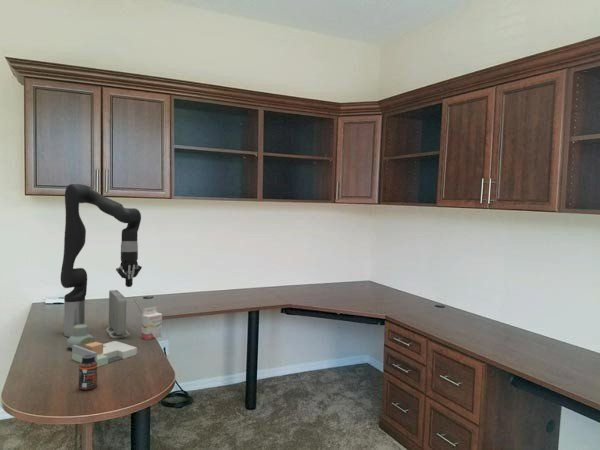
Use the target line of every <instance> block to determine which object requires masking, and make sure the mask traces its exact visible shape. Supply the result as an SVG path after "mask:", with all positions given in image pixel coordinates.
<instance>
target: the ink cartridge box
mask: <svg viewBox="0 0 600 450" xmlns="http://www.w3.org/2000/svg"><path fill="white" fill-rule="evenodd" d="M162 328H163V314H162V313H160V312H158V306H154V307H153V306H152V307H145V308H143V309H142V314H141V339H143V340H146V341H150V340H153V338H154V337H155V338H154V339H158V338H162V336H163V335H162V333H163V332H162V331H163V329H162Z"/></svg>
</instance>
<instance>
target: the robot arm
mask: <svg viewBox="0 0 600 450" xmlns="http://www.w3.org/2000/svg"><path fill="white" fill-rule="evenodd" d="M64 191H65V192H64V205H65V206H64V207H65V222H64V223H65V226H64V240H63V241H64V242H63V243H64V244H63V257H62V264H61V269H60V284H61V286H62V287H63V288H64V289H70V288H73V289H72V290H71V291H70V292H68V293H66V294H65V295H64V297H63V299H64V301H63V302H64V306H63V307H64V308H63V309H64V311H63V312H64V313H63V336H65V337H69V338H70V337H71V336H72V335H73V327H74V326H76V325H80V324H85V325H86V296H87V290H88V289H87V287H88V273H87V270H86V269H85V268H83V267H76V268H74V266H75V261H76V259H77V257H78V256H79V254H80V253H81V251H82V250H83V248H84V246H85V244H86V235H87V234H86V233H87V230H86V229H87V228H86V226H85V224H84V222H83V220H82V219H81V216H80V204H90V205H93V206H96V207H97V208H98V209H99V210H100V211H101V212H103V213H104V214H107V215H108V216H112V217H113V218H114V219H116V220H117V221H118V222H120V223H122V224H127V225H126V227H125V228H123V229H122V230H121V243H120V266H119V267H117V268H116V269H115V271H116V272H117V274H118V275H119V276H120V277H121V278H122V279H124V281H125V282H124V283H125V287H127V288H132V286H133V280H134V278H136V277H137V276H138V275H139V273H140V271H141V270H142V268H143V267H142V266H141V265H139V264H138V259H139V258H138V257H139V256H138V255H139V252H138V251H139V243H138V233H139V228H140V224H141V221H142V213H141V212H140V210H139V209H137V208H132V207H124V206H123V204H122V203H120V202H118V201H115V200H113V199H110V198H108V197H106V196H104V195H102V194H101V193H99V192H97V191H96V190H95V189H93V188H92V187H90V186H88V185H86V184H81V183H80V184H77V183H71V184H68V185H67V186H66V188H65V190H64Z"/></svg>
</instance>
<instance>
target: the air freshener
mask: <svg viewBox="0 0 600 450" xmlns="http://www.w3.org/2000/svg"><path fill="white" fill-rule="evenodd" d="M93 342H95V339H94V336H93V335H92V334H90V333H89V325H87V324H86V323H85V324H80V325H76V326H74V327H73V335H72V336H71V337H69V338H68V339H67V340H66V344H67V346H68V347H69V348H70V349H72V345H77V346H80V347H83V348H85V344H89V343H93Z"/></svg>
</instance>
